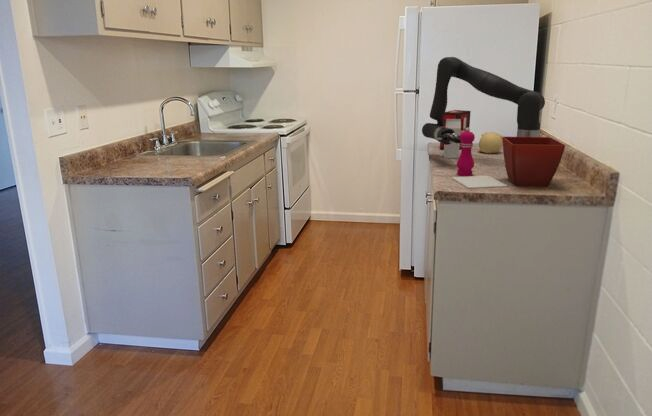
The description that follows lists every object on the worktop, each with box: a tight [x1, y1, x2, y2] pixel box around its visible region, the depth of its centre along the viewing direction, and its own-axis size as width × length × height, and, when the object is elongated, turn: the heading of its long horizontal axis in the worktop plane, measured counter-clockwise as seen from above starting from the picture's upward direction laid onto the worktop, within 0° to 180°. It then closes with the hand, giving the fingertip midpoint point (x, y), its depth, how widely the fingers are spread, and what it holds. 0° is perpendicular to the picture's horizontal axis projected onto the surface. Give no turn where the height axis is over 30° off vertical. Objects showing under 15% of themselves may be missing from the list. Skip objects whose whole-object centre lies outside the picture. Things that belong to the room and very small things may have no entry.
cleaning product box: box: [439, 109, 472, 151], centre depth 274 cm, size 16×9×20 cm, turn 141°
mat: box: [450, 175, 509, 189], centre depth 201 cm, size 18×16×1 cm
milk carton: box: [443, 119, 461, 159], centre depth 250 cm, size 7×7×19 cm
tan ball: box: [478, 131, 504, 154], centre depth 262 cm, size 12×12×11 cm
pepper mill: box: [456, 127, 476, 177], centre depth 212 cm, size 7×7×20 cm
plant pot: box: [502, 136, 566, 187], centre depth 198 cm, size 19×19×17 cm
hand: (458, 140), depth 220 cm, fingers closed
